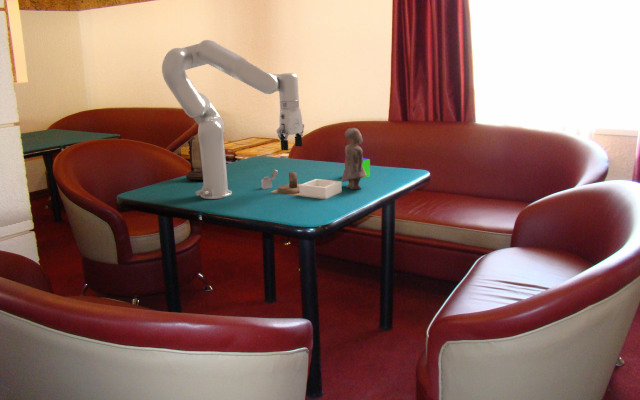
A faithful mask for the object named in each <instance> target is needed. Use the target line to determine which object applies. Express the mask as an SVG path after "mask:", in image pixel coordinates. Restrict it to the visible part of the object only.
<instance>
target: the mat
mask: <svg viewBox="0 0 640 400" xmlns="http://www.w3.org/2000/svg"><path fill="white" fill-rule="evenodd" d="M270 193H273V194H280V195H285V194H284V193H280V192H278V188H276V189H274V190H272V191H270ZM287 195H288V196H296V197H298V196H300V193H298V194H287Z"/></svg>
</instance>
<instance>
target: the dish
mask: <svg viewBox="0 0 640 400" xmlns="http://www.w3.org/2000/svg"><path fill="white" fill-rule="evenodd" d="M300 184H301V185H299V187H300V195H299V197H304V198H312V199H313V198H314V199H320V200H327V199H330V198H332V197H334V196H337V195H339V194H341V193H342V192H343V191H342V188H343V187H342V185H343V182H342V180H341V181H339V180H332V179H331V180H330V179H329V180H328V179H320V178H315V179H312V180H310V181H309V180H308V181H307V182H304V183H300Z"/></svg>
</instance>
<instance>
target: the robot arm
mask: <svg viewBox="0 0 640 400" xmlns="http://www.w3.org/2000/svg"><path fill="white" fill-rule="evenodd" d="M205 65H209V66H210V67H213V68H215V69H217V70H219V71H221V72H223V73H224V74H227V75H228V76H229V77H230V76H231V77H232V78H233V79H235V80H238V81H240V82H242V83H244V84H246V85H248V86H250V87H252V88H254V89H256V90H257V91H259V92H261V93H262V94H266V95H271V94H274V93H277V92H279V95H278V97H279V108H280V109H279V110H280V111H279V127H278V128H277V129H276V133H277V137H278V138H279V141H280V149H281V151H288V150H289V140H288V138H289V136H292V135H293V136H294V135H295V136H294V145H295V147H303V133H304V129H305V124H304V123H303V117H302V116H303V115H302V112H301V108H300V99H299V82H298V81H299V79H298V75H297V73H294V72H291V73H290V72H289V73H280V74H279V73H278V74H277V73H276V74H275V73H269V72H267V71H265V70H264V69H261V68H259V67H258V66H257V65H254V64H253V63H251V62H249V61H248V60H247V59H246V58H244V57H243V56H242V55H240V54H237V53H236V52H234V51H232V50H230V49H228V48H226V47H225V46H223V45H221V44H219V43H217V42H216V41H214V40H211V39H204V40H202V41H201V42H199V43H195V44H193V45H189V46H185V47H174V48H171V49H170V50H169V51H168V52H167V53H166V54H165V56H164V58H163V60H162V63H161V73H162V76H163V80H164V82H165V84H166V85H167V87H168V89H169V90H170V92H171V93H172V95H173V96H174V98H175V99H176V101H177V102H178V104H179V105H180V107H181V108H182V110H183V111H184V113H185V114H186V115H187V116H188V117H189V118H192V119H193V120H194V121H195V122H196V124H197V125H198V129H197V136H198V140H199V143H200V151H201V160H202V172H203V179H202V180H203V182H202V183H203V185H202V186H201V189H198V190H196V191H195V195H196V196H200V197H201V198H202V199H207V200H216V199H217V200H218V199H224V198H225V197H229V196H231V195H232V194H233V191H232V190H230V189H228V188H229V187H228V176H227V174H228V173H227V161H226V151H225V140H224V132H225V130H226V127H225V122H224V120H223V118H222V117H221V115H220V114H219V112H218V111H217V110H216V108H215V106H214V105H213V104H212V101H210V99H209V98H208V97H207V96H206V95H205V94H204V93H201V92H199V91H198V89H197V88H196V87H195V85H194V83H193V82H192V81H191V79H190V78H189V77H188V75H187V73H186V71H187V70H190V69H194V68H197V67H201V66H205Z"/></svg>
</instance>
